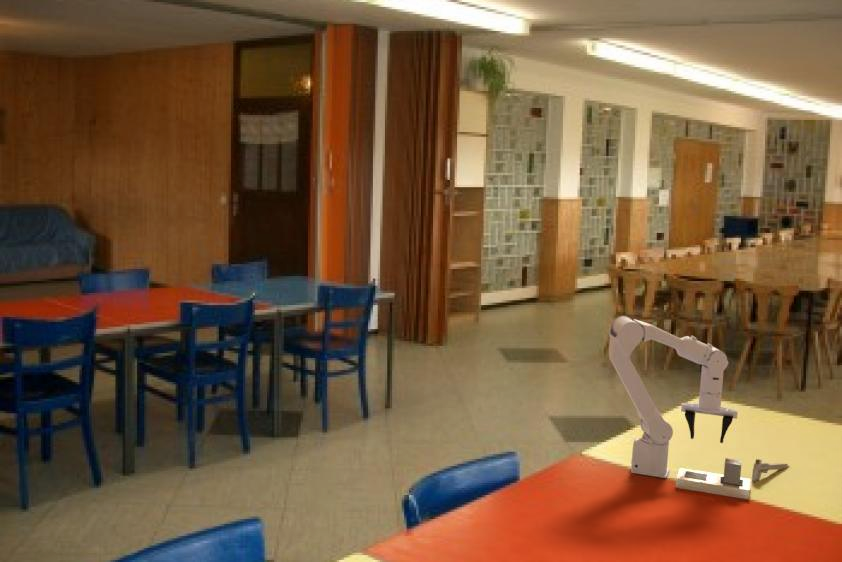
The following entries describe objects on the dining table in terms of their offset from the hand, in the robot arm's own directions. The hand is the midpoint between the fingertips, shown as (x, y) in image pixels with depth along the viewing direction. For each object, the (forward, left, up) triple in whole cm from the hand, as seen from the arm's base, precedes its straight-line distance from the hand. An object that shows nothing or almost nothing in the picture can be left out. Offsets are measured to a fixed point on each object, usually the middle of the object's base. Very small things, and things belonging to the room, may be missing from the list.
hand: (706, 440), depth 241 cm
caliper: (+17, +8, -10) cm, 21 cm away
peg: (+8, -11, -9) cm, 17 cm away
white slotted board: (+3, -11, -9) cm, 15 cm away
